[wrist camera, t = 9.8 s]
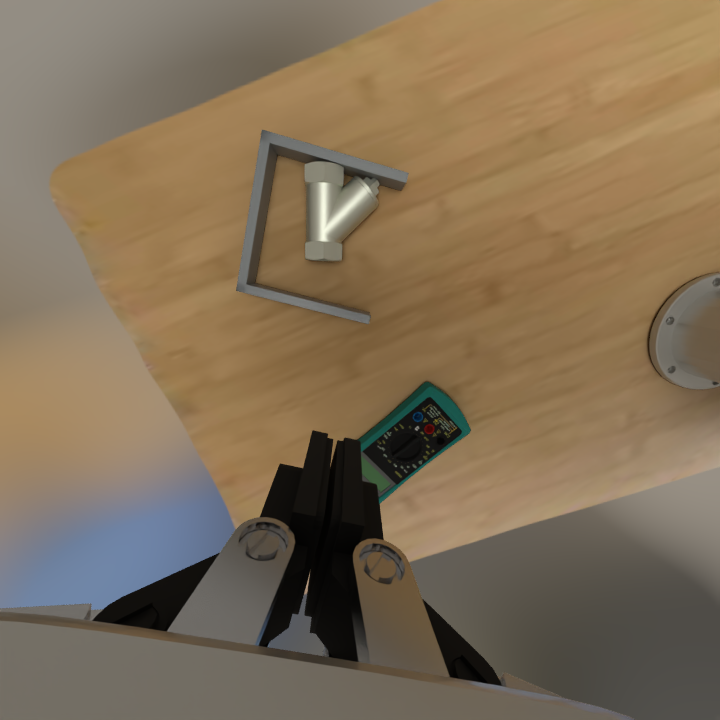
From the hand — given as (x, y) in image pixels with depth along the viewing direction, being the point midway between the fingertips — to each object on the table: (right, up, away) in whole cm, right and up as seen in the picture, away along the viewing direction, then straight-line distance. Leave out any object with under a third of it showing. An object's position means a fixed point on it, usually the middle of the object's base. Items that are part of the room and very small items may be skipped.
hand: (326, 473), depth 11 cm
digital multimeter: (+6, -5, +28) cm, 29 cm away
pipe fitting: (-1, +18, +22) cm, 28 cm away
